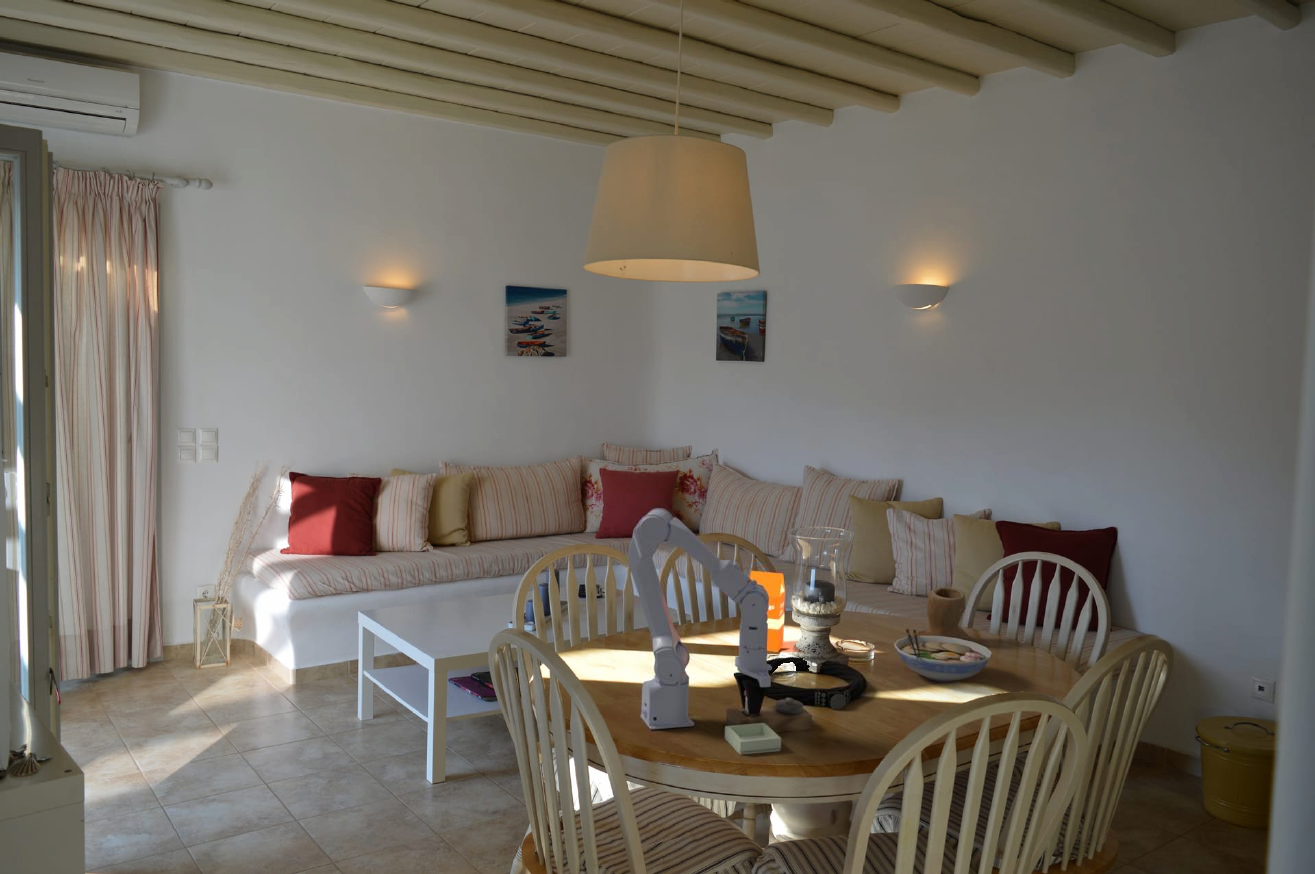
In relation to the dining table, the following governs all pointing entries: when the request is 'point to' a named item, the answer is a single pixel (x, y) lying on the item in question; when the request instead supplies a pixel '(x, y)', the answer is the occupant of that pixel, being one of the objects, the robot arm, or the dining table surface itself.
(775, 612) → the orange juice
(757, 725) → the tray
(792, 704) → the block
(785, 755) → the dining table surface
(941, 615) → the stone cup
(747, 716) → the lock pin
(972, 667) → the ramen bowl
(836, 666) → the cable lock
